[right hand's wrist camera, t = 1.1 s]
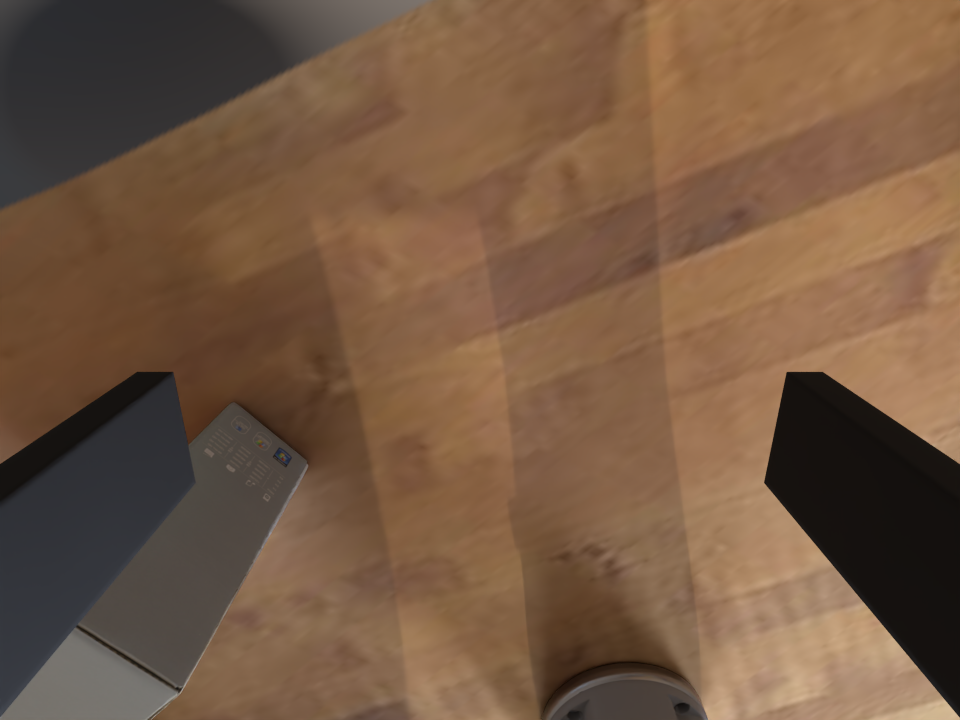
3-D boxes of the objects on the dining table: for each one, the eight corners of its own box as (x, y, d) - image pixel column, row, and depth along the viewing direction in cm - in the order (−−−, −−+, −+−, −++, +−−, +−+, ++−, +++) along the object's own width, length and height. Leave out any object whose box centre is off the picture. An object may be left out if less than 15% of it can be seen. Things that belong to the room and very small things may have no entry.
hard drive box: (233, 396, 42) (39, 598, 24) (313, 461, 44) (192, 695, 26) (114, 517, 46) (-133, 773, 28) (192, 572, 48) (11, 846, 30)
